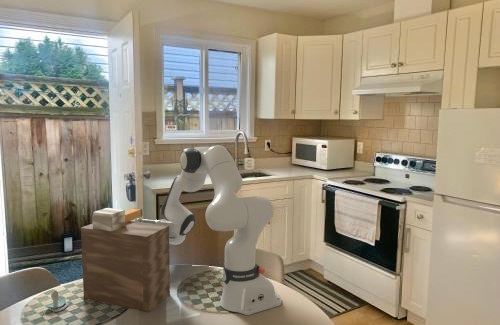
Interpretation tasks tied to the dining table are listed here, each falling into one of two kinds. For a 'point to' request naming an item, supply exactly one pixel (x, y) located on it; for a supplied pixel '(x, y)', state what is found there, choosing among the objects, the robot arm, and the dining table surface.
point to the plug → (133, 214)
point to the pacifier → (55, 302)
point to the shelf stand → (125, 261)
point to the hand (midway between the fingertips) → (147, 221)
